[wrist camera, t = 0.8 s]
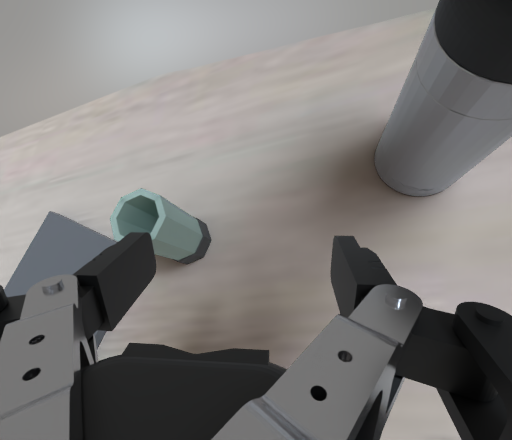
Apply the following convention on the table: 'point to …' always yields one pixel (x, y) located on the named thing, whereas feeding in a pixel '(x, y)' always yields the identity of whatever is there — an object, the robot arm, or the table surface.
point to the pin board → (57, 254)
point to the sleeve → (161, 226)
